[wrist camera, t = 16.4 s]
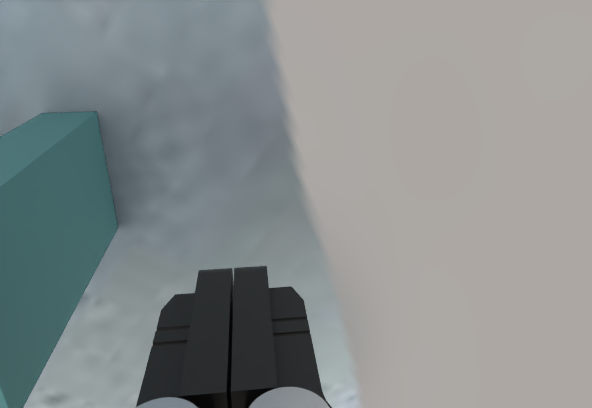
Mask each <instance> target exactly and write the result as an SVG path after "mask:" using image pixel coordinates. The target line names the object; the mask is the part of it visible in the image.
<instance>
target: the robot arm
mask: <svg viewBox="0 0 592 408" xmlns="http://www.w3.org/2000/svg"><path fill="white" fill-rule="evenodd" d="M136 408H332V407H331V406H330V405H329V404H328V402H327V401H326V399H325V397H324V395H323V392H322V389H321V384H320V379H319V374H318V369H317V364H316V359H315V354H314V349H313V344H312V339H311V334H310V330H309V325H308V320H307V315H306V310H305V305H304V300H303V299H302V298H301V297H300V296H299V295H298V293H297V292H296V291H295V290H294V289H293V288H292V287H279V288H269V287H268V276H267V266H259V267H243V268H235V269H234V282H233V271H232V268H228V269H212V270H199V273H198V278H197V284H196V291H195V293H192V294H177V295H174V296H173V298H172V299H171V300H170V301H169V302H168V303H167V304H166V306H165V307H164V308H163V309H162V310H161V314H160V317H159V321H158V325H157V331H156V333H155V337H154V340H153V347H152V348H151V352H150V356H149V359H148V363H147V367H146V371H145V375H144V379H143V382H142V386H141V390H140V394H139V398H138V402H137V405H136Z"/></svg>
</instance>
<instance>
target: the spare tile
mask: <svg viewBox="0 0 592 408" xmlns="http://www.w3.org/2000/svg"><path fill="white" fill-rule="evenodd" d="M117 229H118V224H117V219H116V213H115V208H114V202H113V197H112V192H111V186H110V181H109V176H108V170H107V165H106V159H105V154H104V149H103V143H102V138H101V132H100V127H99V122H98V116H97V112H64V113H41V114H40V115H38V116H36V117H34V118H33V119H31V120H29V121H27V122H26V123H24V124H22V125H20V126H19V127H17V128H15V129H13V130H12V131H10V132H8V133H6V134H5V135H3V136H1V137H0V408H23V407H24V405H25V403H26V401H27V399H28V397H29V395H30V393H31V391H32V390H33V388H34V386H35V384H36V382H37V380H38V378H39V376H40V374H41V373H42V371H43V369H44V367H45V365H46V363H47V361H48V359H49V357H50V356H51V354H52V352H53V350H54V348H55V346H56V344H57V342H58V340H59V338H60V337H61V335H62V333H63V331H64V329H65V327H66V325H67V323H68V321H69V320H70V318H71V316H72V314H73V312H74V310H75V308H76V306H77V304H78V303H79V301H80V299H81V297H82V295H83V293H84V291H85V289H86V287H87V286H88V284H89V282H90V280H91V278H92V276H93V274H94V272H95V270H96V269H97V267H98V265H99V263H100V261H101V259H102V257H103V255H104V253H105V251H106V250H107V248H108V246H109V244H110V242H111V240H112V238H113V236H114V234H115V233H116V231H117Z"/></svg>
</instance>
